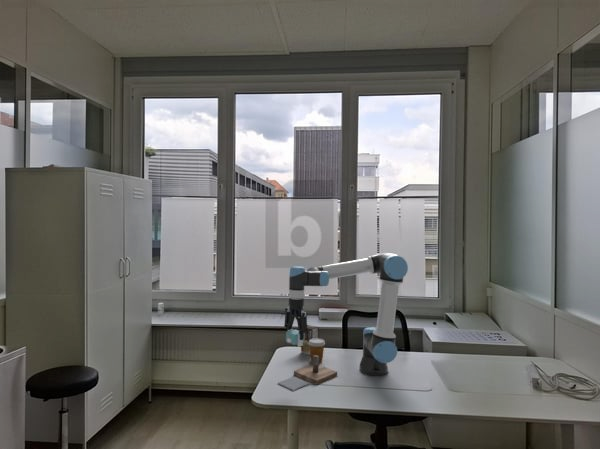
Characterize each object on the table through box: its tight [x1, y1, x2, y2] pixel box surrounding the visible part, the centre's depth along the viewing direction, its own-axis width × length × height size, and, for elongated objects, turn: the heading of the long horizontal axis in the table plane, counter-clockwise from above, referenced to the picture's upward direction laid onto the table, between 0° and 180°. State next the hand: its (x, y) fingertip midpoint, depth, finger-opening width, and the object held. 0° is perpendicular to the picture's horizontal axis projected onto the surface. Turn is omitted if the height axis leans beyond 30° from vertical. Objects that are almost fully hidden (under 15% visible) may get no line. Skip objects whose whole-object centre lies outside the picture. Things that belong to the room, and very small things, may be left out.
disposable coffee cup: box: [309, 338, 326, 364], centre depth 225 cm, size 10×10×12 cm
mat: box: [277, 376, 310, 392], centre depth 194 cm, size 11×11×1 cm
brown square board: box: [293, 355, 338, 385], centre depth 205 cm, size 16×16×10 cm
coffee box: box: [300, 324, 320, 356], centre depth 238 cm, size 9×6×16 cm
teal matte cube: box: [285, 329, 305, 346], centre depth 194 cm, size 6×7×5 cm
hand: (295, 344), depth 195 cm, fingers closed on teal matte cube, 6 cm apart
